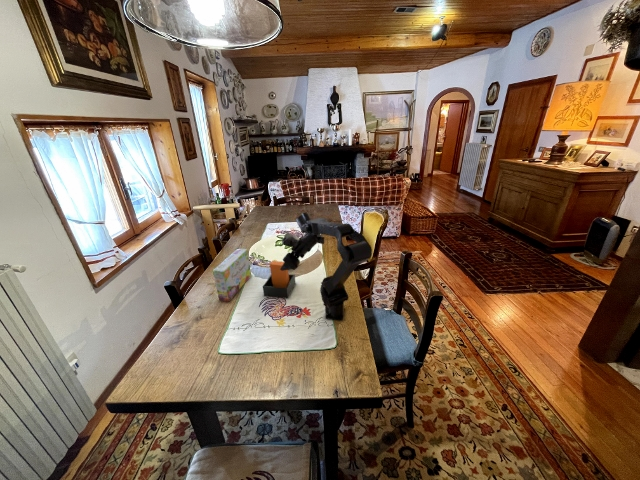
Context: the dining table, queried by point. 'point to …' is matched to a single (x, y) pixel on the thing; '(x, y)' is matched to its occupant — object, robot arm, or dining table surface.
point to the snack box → (232, 274)
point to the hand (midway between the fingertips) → (284, 264)
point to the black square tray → (278, 288)
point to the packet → (279, 275)
